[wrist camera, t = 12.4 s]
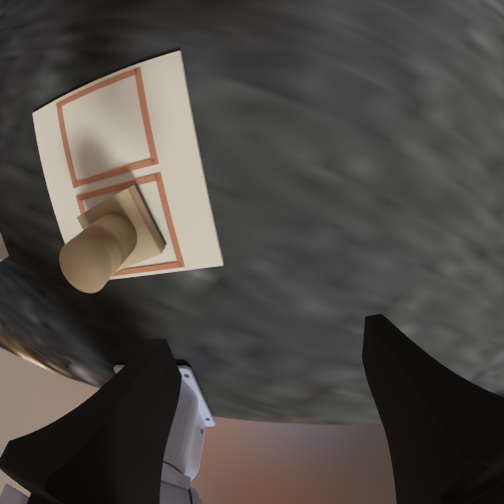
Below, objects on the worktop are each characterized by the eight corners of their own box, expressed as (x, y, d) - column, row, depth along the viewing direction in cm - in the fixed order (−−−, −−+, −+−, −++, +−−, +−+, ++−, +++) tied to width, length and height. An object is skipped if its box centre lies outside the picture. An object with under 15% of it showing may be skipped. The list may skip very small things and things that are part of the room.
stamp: (167, 243, 19) (134, 292, 14) (117, 264, 20) (78, 312, 15) (137, 182, 17) (89, 212, 12) (87, 210, 18) (37, 245, 13)
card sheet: (223, 263, 20) (223, 266, 20) (82, 281, 21) (79, 283, 21) (181, 51, 14) (179, 50, 14) (34, 112, 16) (31, 113, 15)
